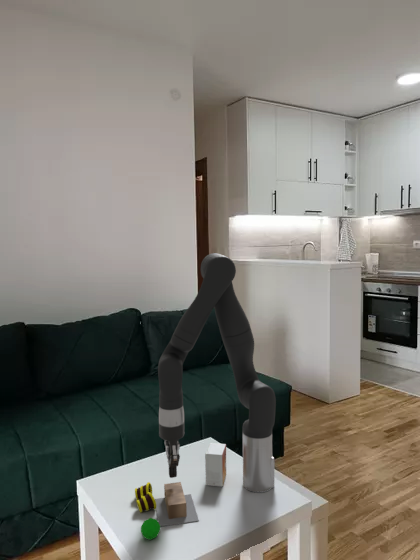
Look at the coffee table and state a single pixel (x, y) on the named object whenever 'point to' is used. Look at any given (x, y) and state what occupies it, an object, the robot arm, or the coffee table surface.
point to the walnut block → (175, 500)
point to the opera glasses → (145, 498)
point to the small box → (215, 464)
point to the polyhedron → (150, 528)
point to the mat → (165, 520)
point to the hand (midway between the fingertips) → (172, 476)
